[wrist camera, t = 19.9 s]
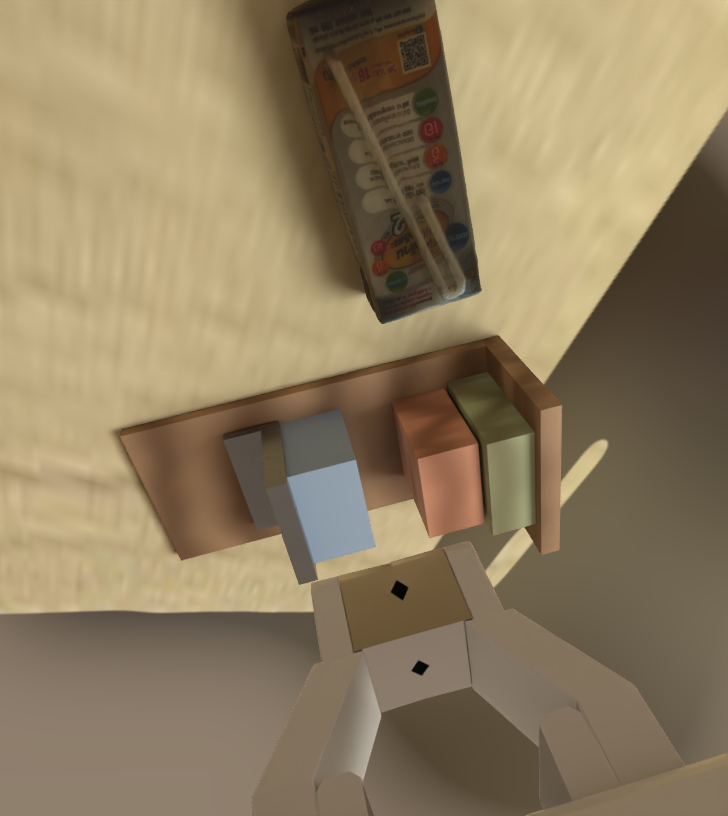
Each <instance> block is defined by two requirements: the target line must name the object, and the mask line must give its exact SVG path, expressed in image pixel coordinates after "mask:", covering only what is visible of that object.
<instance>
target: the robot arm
mask: <svg viewBox="0 0 728 816" xmlns="http://www.w3.org/2000/svg"><path fill="white" fill-rule="evenodd" d="M311 595H312V602H313V609H314V614H315V622H316V628H317V635H318V641H319V648H320V655H321V661H322V662H320V663H317V664H314V665H313V667H312V669H311V671H310V673H309V675H308V678H307V680H306V682H305V684H304V686H303V689H302V691H301V693H300V695H299V697H298V699H297V701H296V703H295V706H294V708H293V710H292V712H291V714H290V716H289V719H288V721H287V723H286V726H285V727H284V729H283V731H282V734H281V736H280V738H279V740H278V742H277V745H276V747H275V749H274V751H273V753H272V755H271V757H270V759H269V762H268V764H267V766H266V768H265V770H264V772H263V775H262V777H261V779H260V781H259V783H258V785H257V787H256V790H255V792H254V794H253V796H252V816H374V814H373V811H372V808H371V805H370V802H369V799H368V797H367V793H366V791H365V788H364V785H363V778H364V775H365V771H366V768H367V764H368V761H369V757H370V754H371V750H372V747H373V743H374V740H375V736H376V733H377V729H378V725H379V722H380V718H381V714H380V713H382V712H384V711H388V710H391V709H394V708H397V707H400V706H403V705H406V704H410V703H412V702H415V701H419V700H422V699H425V698H429V697H432V696H436V695H440V694H444V693H448V692H452V691H456V690H459V689H463V688H467V687H471V686H473V689H474V690H475V691H476V692H477V693H479V694H480V695H481V696H482V697H483V698H484V699H485V700H486V701H488V702H489V703H490V704H491V705H492V706H493V707H494V708H495V709H497V710H498V711H499V712H500V713H501V714H502V715H503V716H505V718H507V719H508V720H509V721H510V722H511V723H512V724H513V725H514V726H516V727H517V728H518V729H519V730H520V731H521V732H522V733H523V734H525V735H526V736H527V737H528V738H529V739H530V740H531V741H532V742H533V743H535V744H536V745H537V746H538V747H539V781H540V782H539V789H540V790H539V796H540V797H539V798H540V799H539V800H540V802H541V805H542V807H543V810H542V811H538V812H535V813H532V814H528V815H525V816H728V753H726V754H723V755H720V756H716V757H713V758H710V759H707V760H704V761H700V762H697V763H694V764H691V765H687V766H685V765H684V763H683V761H682V760H681V758H680V757H679V755H678V753H677V752H676V750H675V749H674V747H673V746H672V744H671V742H670V741H669V739H668V738H667V736H666V734H665V733H664V731H663V730H662V728H661V726H660V725H659V723H658V722H657V720H656V719H655V717H654V715H653V714H652V712H651V711H650V709H649V707H648V706H647V704H646V703H645V701H644V700H643V698H642V696H641V695H640V693H639V692H638V690H637V688H636V687H635V686H634V685H633V684H632V683H630V682H628V681H627V680H625V679H624V678H622V677H621V676H619V675H618V674H616V673H614V672H613V671H611V670H610V669H608V668H606V667H605V666H603V665H602V664H600V663H598V662H597V661H595V660H594V659H592V658H590V657H589V656H587V655H586V654H584V653H582V652H581V651H579V650H578V649H576V648H574V647H573V646H571V645H570V644H568V643H566V642H565V641H563V640H562V639H560V638H558V637H557V636H555V635H554V634H552V633H551V632H549V631H547V630H546V629H544V628H543V627H541V626H539V625H538V624H536V623H535V622H533V621H531V620H530V619H528V618H527V617H525V616H523V615H522V614H520V613H518V612H517V611H515V610H514V609H509V610H504V609H503V607H502V605H501V603H500V601H499V599H498V597H497V595H496V593H495V591H494V588H493V586H492V584H491V582H490V580H489V578H488V576H487V574H486V572H485V570H484V568H483V566H482V564H481V562H480V560H479V558H478V556H477V554H476V552H475V550H474V548H473V546H472V544H471V543H470V542H469V541H465V542H462V543H458V544H454V545H451V546H447V547H444V548H442V549H441V548H439V549H435V550H432V551H428V552H425V553H421V554H418V555H414V556H411V557H407V558H404V559H400V560H397V561H393V562H390V563H389V564H385V565H381V566H376V567H372V568H368V569H364V570H360V571H356V572H352V573H348V574H344V575H340V576H339V577H338V576H337V577H333V578H329V579H325V580H321V581H317V582H313V583H311Z"/></svg>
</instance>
